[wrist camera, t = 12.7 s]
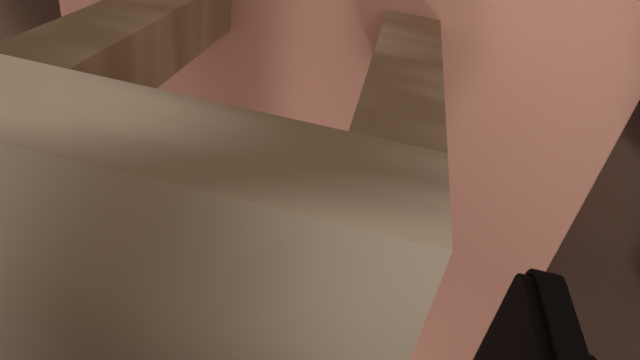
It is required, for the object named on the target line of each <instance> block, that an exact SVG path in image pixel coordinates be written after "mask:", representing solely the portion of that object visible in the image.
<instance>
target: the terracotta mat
mask: <svg viewBox="0 0 640 360" xmlns="http://www.w3.org/2000/svg"><path fill="white" fill-rule="evenodd" d="M100 1H102V0H59V4H60V11H61V17H62V16H65V15H67V14H70V13H72V12H75V11H77V10H80V9H82V8H85V7H87V6H90V5H92V4H95V3H97V2H100ZM387 9H388V10H393V11H398V12H402V13H407V14H412V15H417V16H422V17H427V18H432V19H437V20H440V21H441V40H442V58H443V76H444V95H445V113H446V131H447V150H448V168H449V186H450V205H451V223H452V242H453V252H452V255H451V257H450V260H449V262H448V265H447V267H446V270H445V272H444V275H443V278H442V280H441V283H440V285H439V288H438V290H437V293H436V295H435V298H434V300H433V303H432V306H431V308H430V311H429V313H428V316H427V318H426V321H425V323H424V326H423V328H422V331H421V334H420V336H419V339H418V341H417V344H416V346H415V349H414V351H413V354H412V357H411V359H410V360H473V358H474V356H475V354H476V352H477V350H478V348H479V346H480V344H481V342H482V340H483V338H484V336H485V334H486V332H487V330H488V328H489V326H490V324H491V322H492V320H493V319H494V317H495V315H496V313H497V311H498V309H499V307H500V305H501V303H502V301H503V299H504V297H505V295H506V293H507V291H508V289H509V287H510V285H511V283H512V281H513V279H514V277H515V275H516V274H518V273H521V274H525V273H526V272H527V271H528V270H529V269H532V268H533V269H537V270H541V271H545V272H546V270H547V268H548V267H549V265H550V263H551V261H552V259H553V257H554V256H555V254H556V252H557V250H558V248H559V247H560V245H561V243H562V241H563V239H564V237H565V236H566V234H567V232H568V230H569V228H570V226H571V225H572V223H573V221H574V219H575V217H576V215H577V214H578V212H579V210H580V208H581V206H582V204H583V203H584V201H585V199H586V197H587V195H588V193H589V192H590V190H591V188H592V186H593V184H594V182H595V181H596V179H597V177H598V175H599V173H600V171H601V170H602V168H603V166H604V164H605V162H606V160H607V159H608V157H609V155H610V153H611V151H612V149H613V148H614V146H615V144H616V142H617V140H618V139H619V137H620V135H621V133H622V131H623V129H624V128H625V126H626V124H627V122H628V120H629V118H630V117H631V115H632V113H633V111H634V109H635V107H636V106H637V104H638V102H639V100H640V0H232V4H231V25H230V31H228V32H227V33H226V34H225V35H223V36H222V37H221V38H220V39H218V40H217V41H216V42H215V43H213V44H212V45H211V46H210V47H208V48H207V49H206V50H205V51H203V52H202V53H201V54H200V55H198V56H197V57H196V58H195V59H193V60H192V61H191V62H190V63H188V64H187V65H186V66H185V67H183V68H182V69H181V70H180V71H178V72H177V73H176V74H175V75H173V76H172V77H171V78H170V79H168V80H167V81H166V82H165V83H164V84H162V85H161V86H160V87H159V88H157V89H161V90H165V91H170V92H174V93H179V94H183V95H188V96H192V97H197V98H201V99H206V100H210V101H215V102H219V103H224V104H228V105H233V106H237V107H242V108H246V109H251V110H255V111H260V112H264V113H269V114H273V115H278V116H282V117H286V118H291V119H295V120H300V121H304V122H309V123H313V124H318V125H322V126H327V127H331V128H336V129H340V130H345V131H349V128H350V125H351V122H352V119H353V116H354V112H355V109H356V106H357V103H358V100H359V97H360V94H361V90H362V87H363V84H364V81H365V78H366V75H367V72H368V68H369V65H370V62H371V59H372V56H373V53H374V50H375V46H376V43H377V40H378V37H379V34H380V31H381V27H382V24H383V21H384V18H385V15H386V12H387Z"/></svg>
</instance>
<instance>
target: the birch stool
mask: <svg viewBox="0 0 640 360" xmlns="http://www.w3.org/2000/svg"><path fill="white" fill-rule="evenodd" d="M231 4H232V0H102V1H100V2H97V3H95V4H92V5H90V6H87V7H85V8H82V9H80V10H77V11H75V12H72V13H70V14H67V15H65V16H62V17H60V18H57V19H55V20H52V21H50V22H47V23H45V24H42V25H40V26H38V27H35V28H33V29H30V30H28V31H25V32H23V33H20V34H18V35H15V36H13V37H10V38H8V39H5V40H3V41H0V360H410V359H411V357H412V354H413V351H414V349H415V346H416V344H417V341H418V339H419V336H420V334H421V331H422V328H423V326H424V323H425V321H426V318H427V316H428V313H429V311H430V308H431V306H432V303H433V300H434V298H435V295H436V293H437V290H438V288H439V285H440V283H441V280H442V278H443V275H444V272H445V270H446V267H447V265H448V262H449V260H450V257H451V255H452V252H453V242H452V223H451V205H450V186H449V168H448V150H447V131H446V113H445V95H444V76H443V58H442V40H441V21H440V20H437V19H432V18H427V17H422V16H417V15H412V14H407V13H402V12H398V11H393V10H388V9H387V12H386V15H385V18H384V21H383V24H382V27H381V31H380V34H379V37H378V40H377V43H376V46H375V50H374V53H373V56H372V59H371V62H370V65H369V68H368V72H367V75H366V78H365V81H364V84H363V87H362V90H361V94H360V97H359V100H358V103H357V106H356V109H355V112H354V116H353V119H352V122H351V125H350V128H349V131H345V130H340V129H336V128H331V127H327V126H322V125H318V124H313V123H309V122H304V121H300V120H295V119H291V118H286V117H282V116H278V115H273V114H269V113H264V112H260V111H255V110H251V109H246V108H242V107H237V106H233V105H228V104H224V103H219V102H215V101H210V100H206V99H201V98H197V97H192V96H188V95H183V94H179V93H174V92H170V91H165V90H161V89H157V88H159V87H160V86H161V85H162V84H164V83H165V82H166V81H167V80H168V79H170V78H171V77H172V76H173V75H175V74H176V73H177V72H178V71H180V70H181V69H182V68H183V67H185V66H186V65H187V64H188V63H190V62H191V61H192V60H193V59H195V58H196V57H197V56H198V55H200V54H201V53H202V52H203V51H205V50H206V49H207V48H208V47H210V46H211V45H212V44H213V43H215V42H216V41H217V40H218V39H220V38H221V37H222V36H223V35H225V34H226V33H227V32H228V31H230V25H231Z"/></svg>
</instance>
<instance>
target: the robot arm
mask: <svg viewBox="0 0 640 360" xmlns="http://www.w3.org/2000/svg"><path fill="white" fill-rule="evenodd" d="M473 360H597V359H596V358H595V357H594V356H592V355H589V352H588V349H587V346H586V343H585V340H584V337H583V334H582V331H581V328H580V325H579V321H578V318H577V315H576V312H575V309H574V306H573V303H572V300H571V297H570V294H569V290H568V287H567V284H566V281H565V279H564V277H563V276H561V275H558V274H554V273H550V272H545V271H541V270H537V269H533V268H532V269H529V270H528V271H527V272H526V273H525V274H521V273H518V274H516V275H515V277H514V279H513V281H512V283H511V285H510V287H509V289H508V291H507V293H506V295H505V297H504V299H503V301H502V303H501V305H500V307H499V309H498V311H497V313H496V315H495V317H494V319H493V320H492V322H491V324H490V326H489V328H488V330H487V332H486V334H485V336H484V338H483V340H482V342H481V344H480V346H479V348H478V350H477V352H476V354H475V356H474V358H473Z"/></svg>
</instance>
